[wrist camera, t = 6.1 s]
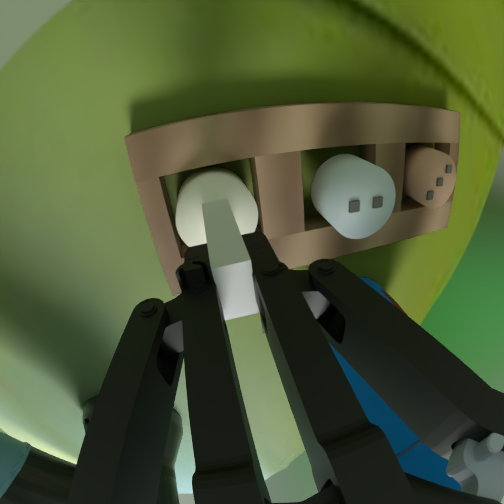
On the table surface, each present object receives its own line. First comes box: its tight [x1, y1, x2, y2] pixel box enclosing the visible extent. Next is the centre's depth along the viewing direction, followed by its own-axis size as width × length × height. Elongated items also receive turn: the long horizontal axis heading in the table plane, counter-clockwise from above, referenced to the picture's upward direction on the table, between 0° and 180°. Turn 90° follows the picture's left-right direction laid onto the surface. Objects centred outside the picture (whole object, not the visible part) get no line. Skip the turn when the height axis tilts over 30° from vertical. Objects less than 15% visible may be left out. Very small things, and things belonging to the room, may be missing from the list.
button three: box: [402, 144, 456, 209], centre depth 20 cm, size 5×5×3 cm
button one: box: [176, 167, 258, 247], centre depth 18 cm, size 5×5×3 cm
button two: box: [311, 154, 396, 239], centre depth 17 cm, size 5×5×3 cm
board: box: [124, 102, 460, 295], centre depth 20 cm, size 27×12×2 cm, turn 97°
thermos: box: [328, 277, 461, 491], centre depth 19 cm, size 11×11×25 cm
